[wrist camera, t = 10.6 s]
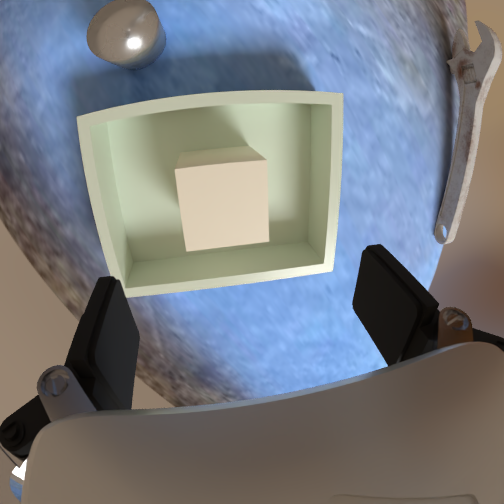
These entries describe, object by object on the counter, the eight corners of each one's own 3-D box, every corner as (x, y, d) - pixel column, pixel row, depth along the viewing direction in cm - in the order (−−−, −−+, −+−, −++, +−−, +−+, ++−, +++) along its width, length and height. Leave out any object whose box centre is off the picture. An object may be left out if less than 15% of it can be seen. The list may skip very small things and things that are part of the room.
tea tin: (109, 25, 17) (87, 7, 12) (165, 14, 18) (157, -10, 13) (110, 75, 20) (87, 68, 14) (167, 64, 20) (158, 52, 15)
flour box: (180, 152, 24) (174, 169, 18) (249, 145, 25) (267, 159, 18) (188, 216, 27) (186, 251, 21) (252, 208, 27) (269, 241, 21)
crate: (98, 113, 21) (76, 116, 16) (317, 94, 24) (343, 93, 19) (128, 267, 29) (118, 298, 24) (313, 245, 32) (332, 271, 27)
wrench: (420, 226, 37) (444, 18, 19) (429, 225, 37) (453, 23, 20) (454, 259, 31) (493, 21, 13) (462, 257, 31) (501, 27, 13)
